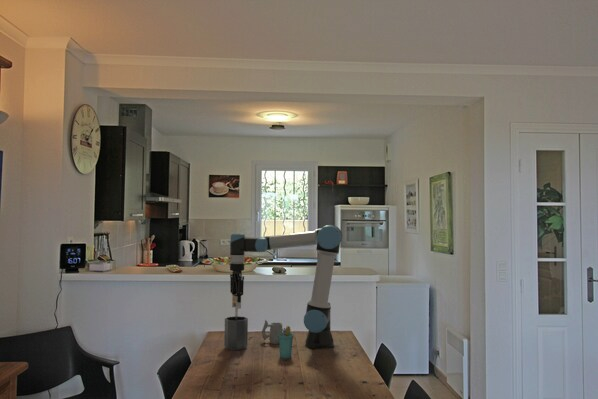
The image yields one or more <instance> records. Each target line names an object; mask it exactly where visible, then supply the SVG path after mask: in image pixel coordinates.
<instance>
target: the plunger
mask: <svg viewBox="0 0 598 399" xmlns="http://www.w3.org/2000/svg"><path fill="white" fill-rule="evenodd" d="M232 295H233V294H232ZM233 306H235V307H234V308H235V313H234V315H235V321H237V319H238V316H239V315H238V314H239V313H238V310H239V309H236V296H235V295H233Z"/></svg>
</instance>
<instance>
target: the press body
mask: <svg viewBox="0 0 598 399" xmlns="http://www.w3.org/2000/svg"><path fill="white" fill-rule="evenodd" d="M248 321H249V319H248V317H246V316H239V315H238V319H237V321H235V316H228V317H225V318H224V338H223V339H224V349H225V350H227V351H243V350H246V349H247V347H248V339H249V338H248V337H249V336H248V333H249V332H248V331H249V328H248V327H249V326H248V323H249V322H248Z"/></svg>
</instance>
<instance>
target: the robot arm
mask: <svg viewBox="0 0 598 399" xmlns="http://www.w3.org/2000/svg"><path fill="white" fill-rule="evenodd" d="M342 239H343V232H342V231H341V229H340V227H338V226H336V225H333V224H327V225H324V226H322V227H320V228H316V229H315V230H313V231H311V230H310V231H303V232H301V231H300V232H293V233H286V234H285V233H283V234H276V235H268V236H259V237H246V234H244V233H231V235H230V240H229V241H230V242H229V245H230V246H229V248H230V249H229V252H230V253H229V258H228V259H229V262H230V264H229V270H230V271H231V273H230V274H229V277H230V278H229V279H230V280H229V281H230V293H231V296H232V299H231V302H232V303H231V308H235V306H233V295H235V296H236V309H238V310H239V309H242V296H244V286H245V285H244V281H245V276H244V275H243V274H242V273H243V272H242V271H244V270H245V259H246V258H245V257H246V256H245V253H248V252H249V253H266V252H267V251H271V250H272V251H273V250H279V249H280V250H281V249H290V248H298V247H299V248H300V247H307V246H308V247H309V246H316V247H315V249H316V252H317V254H318V256H317V261H316V268H315V275H314V280H313V285H312V286H313V287H312V292H311V298H310V300H309V301H308V302H307V304H306V305H307V306H306V309H305V314H304V316H303V325H304V327H305V328H306V330H308V332H307V335H306V339H305V342H304V343H305V347H308V348H311V349H319V350H320V349H329V348H333V347H334V346H335V345H334V338H333V335H332V332H331V310H332V307H331V302H330V301H329V297H330V296H329V295H330V290H331V284H332V278H333V271H334V265H335V258H336V256H337V255H339V253H340V247H341V243H342Z"/></svg>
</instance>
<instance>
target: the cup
mask: <svg viewBox="0 0 598 399" xmlns="http://www.w3.org/2000/svg"><path fill="white" fill-rule="evenodd" d="M282 329H283V331H282V333H281V334H278V337H279V343H278V346H279V349H278V350H279V357H280V358H281V359H291V358H292V350H293V349H292V348H293V339H294V337H295V336H294V334H293V333H291V327H290V326H289V325H287V326H286V327H284V328H282Z"/></svg>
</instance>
